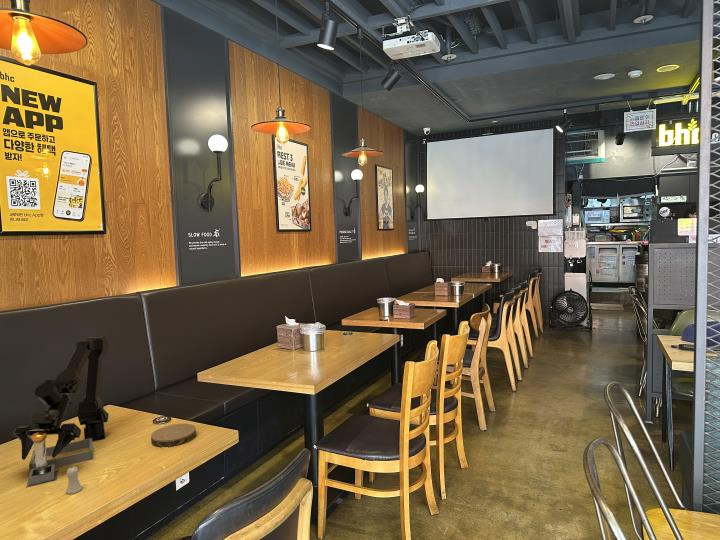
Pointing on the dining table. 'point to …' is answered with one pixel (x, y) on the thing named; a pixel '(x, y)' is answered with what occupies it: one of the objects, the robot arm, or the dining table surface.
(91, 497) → the dining table surface
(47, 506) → the dining table surface
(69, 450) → the pin tray
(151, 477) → the dining table surface
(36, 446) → the stop pin
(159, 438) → the wooden coaster disc
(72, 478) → the rook chess piece
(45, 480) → the bracket
